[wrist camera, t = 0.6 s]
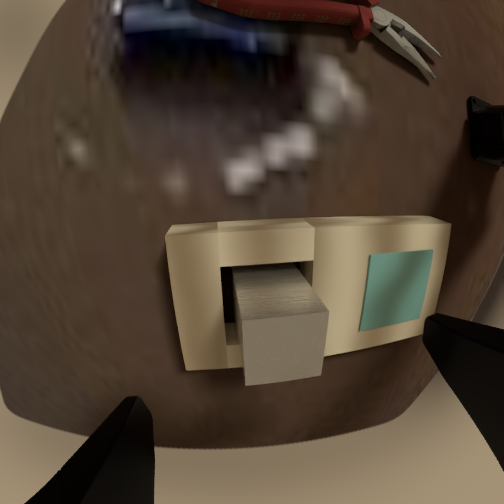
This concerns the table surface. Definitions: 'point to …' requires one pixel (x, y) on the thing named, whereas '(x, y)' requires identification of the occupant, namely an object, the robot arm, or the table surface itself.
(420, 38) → the pliers
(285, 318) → the steel block
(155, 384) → the table surface
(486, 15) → the table surface
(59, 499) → the robot arm
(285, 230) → the beige slotted block
